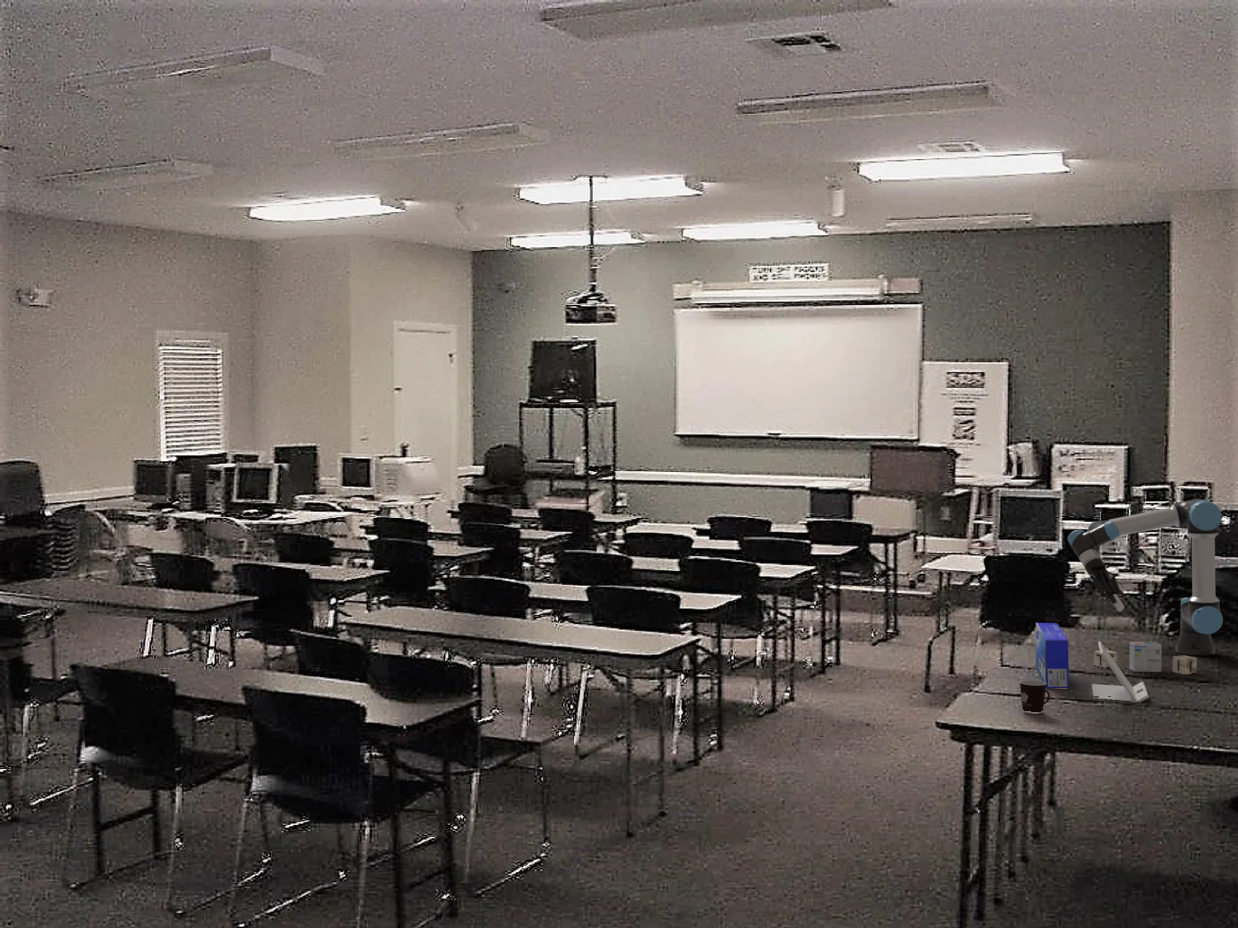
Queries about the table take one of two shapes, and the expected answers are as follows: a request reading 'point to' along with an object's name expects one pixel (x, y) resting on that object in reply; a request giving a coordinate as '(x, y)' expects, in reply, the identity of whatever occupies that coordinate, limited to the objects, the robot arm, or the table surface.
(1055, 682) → the toner cartridge box
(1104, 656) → the tablet stand
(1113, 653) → the birch block seven
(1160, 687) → the table surface
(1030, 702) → the coffee mug
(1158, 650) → the light bulb box
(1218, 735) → the table surface
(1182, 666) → the birch block one
